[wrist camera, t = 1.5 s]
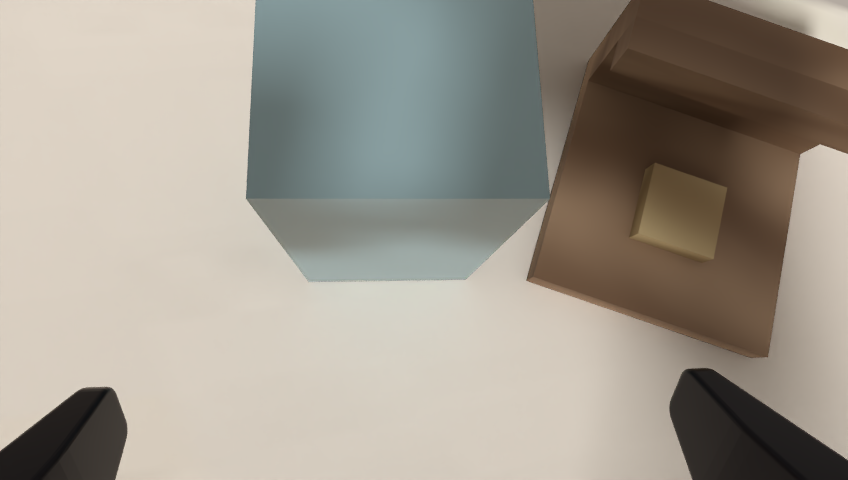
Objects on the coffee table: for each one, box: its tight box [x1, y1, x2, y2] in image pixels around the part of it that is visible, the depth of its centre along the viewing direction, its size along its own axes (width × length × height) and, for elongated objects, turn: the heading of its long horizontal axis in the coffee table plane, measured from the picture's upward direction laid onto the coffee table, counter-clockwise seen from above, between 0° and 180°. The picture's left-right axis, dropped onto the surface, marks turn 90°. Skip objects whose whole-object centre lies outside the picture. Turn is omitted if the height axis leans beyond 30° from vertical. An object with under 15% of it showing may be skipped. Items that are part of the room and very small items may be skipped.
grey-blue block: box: [246, 0, 550, 282], centre depth 18 cm, size 8×6×11 cm
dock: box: [526, 0, 848, 358], centre depth 21 cm, size 11×10×6 cm
